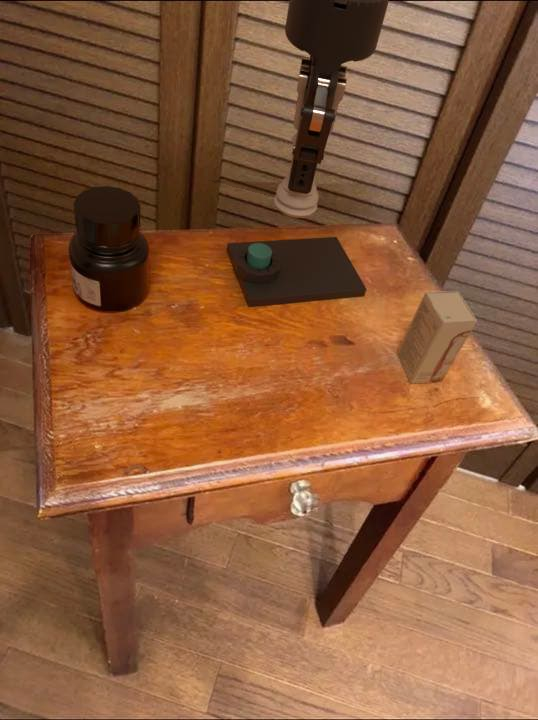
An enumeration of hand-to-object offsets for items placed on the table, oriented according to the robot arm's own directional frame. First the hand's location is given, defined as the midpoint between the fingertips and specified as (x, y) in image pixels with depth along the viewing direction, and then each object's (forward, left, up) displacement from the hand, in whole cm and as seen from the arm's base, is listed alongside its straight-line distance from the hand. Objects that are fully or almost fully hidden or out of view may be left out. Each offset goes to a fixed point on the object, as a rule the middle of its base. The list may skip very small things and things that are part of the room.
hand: (300, 179), depth 57 cm
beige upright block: (+19, -3, -20) cm, 28 cm away
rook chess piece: (0, 0, -3) cm, 3 cm away
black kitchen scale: (+3, +10, -20) cm, 22 cm away
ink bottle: (-19, +1, -20) cm, 28 cm away
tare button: (-2, +8, -17) cm, 19 cm away
